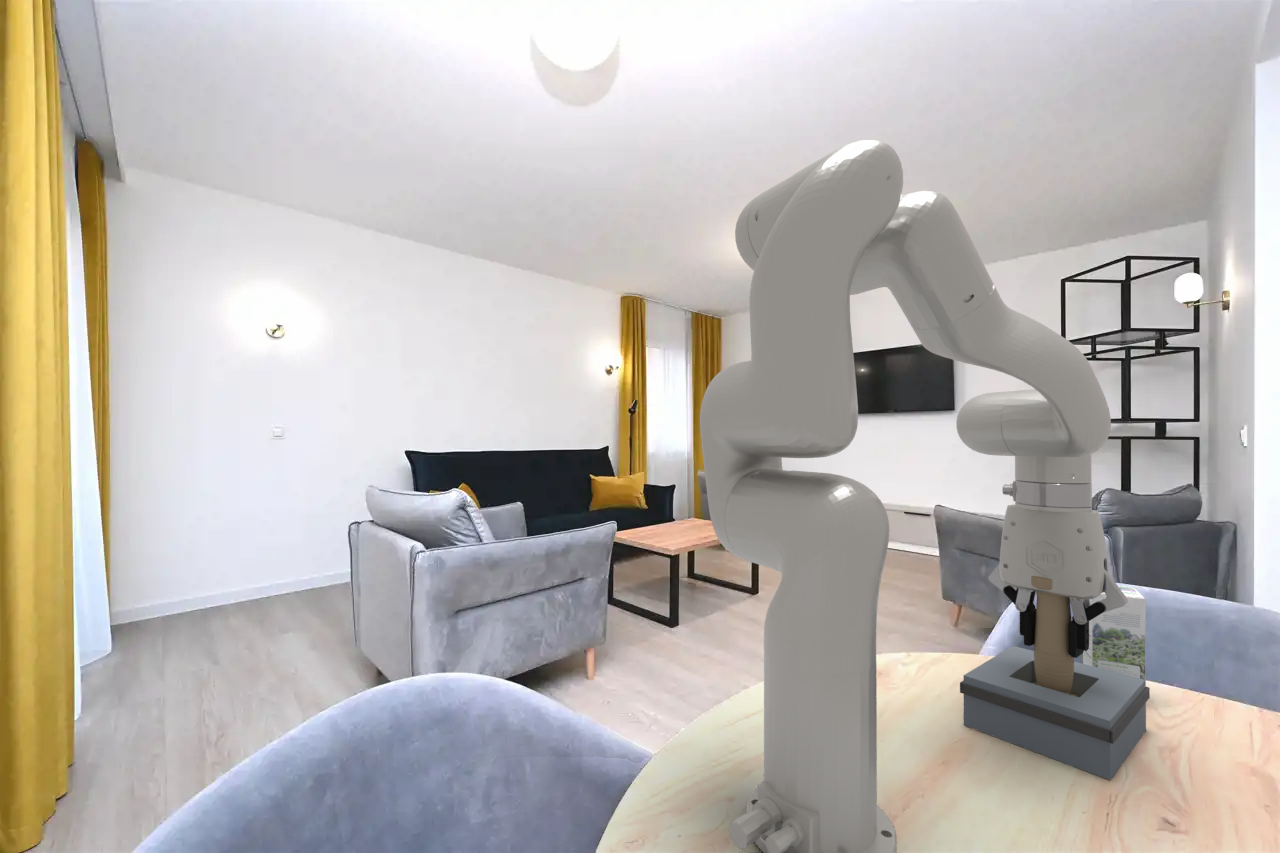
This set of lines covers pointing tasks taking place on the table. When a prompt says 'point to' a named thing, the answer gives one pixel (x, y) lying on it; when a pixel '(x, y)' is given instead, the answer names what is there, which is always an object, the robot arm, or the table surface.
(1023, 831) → the table surface
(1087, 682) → the collar block
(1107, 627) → the syrup box
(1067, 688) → the handle
